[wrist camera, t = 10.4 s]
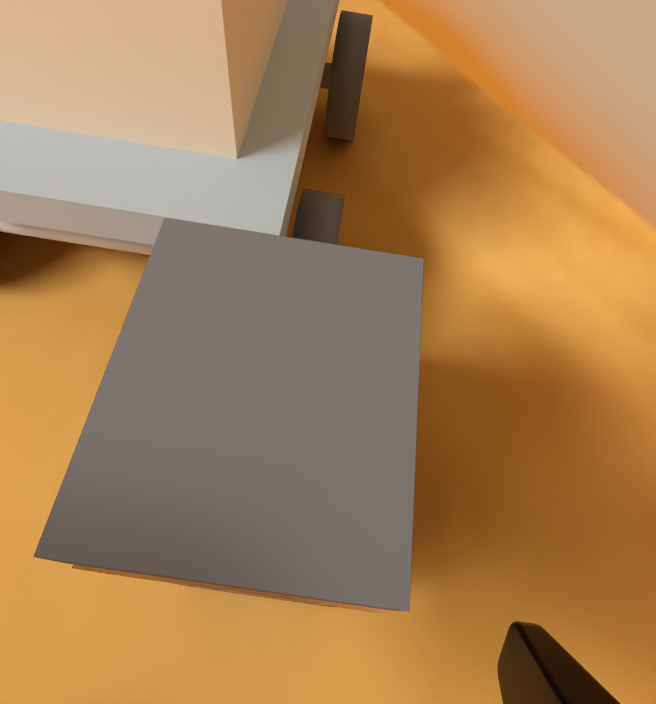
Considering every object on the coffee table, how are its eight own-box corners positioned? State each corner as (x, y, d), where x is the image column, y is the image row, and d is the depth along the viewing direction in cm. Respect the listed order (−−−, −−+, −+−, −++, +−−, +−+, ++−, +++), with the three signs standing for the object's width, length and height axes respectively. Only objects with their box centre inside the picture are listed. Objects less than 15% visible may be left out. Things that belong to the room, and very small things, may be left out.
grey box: (330, 608, 17) (412, 616, 6) (186, 587, 17) (28, 560, 6) (355, 378, 21) (430, 153, 11) (241, 360, 21) (201, 116, 11)
